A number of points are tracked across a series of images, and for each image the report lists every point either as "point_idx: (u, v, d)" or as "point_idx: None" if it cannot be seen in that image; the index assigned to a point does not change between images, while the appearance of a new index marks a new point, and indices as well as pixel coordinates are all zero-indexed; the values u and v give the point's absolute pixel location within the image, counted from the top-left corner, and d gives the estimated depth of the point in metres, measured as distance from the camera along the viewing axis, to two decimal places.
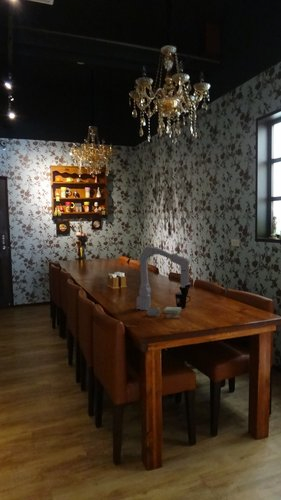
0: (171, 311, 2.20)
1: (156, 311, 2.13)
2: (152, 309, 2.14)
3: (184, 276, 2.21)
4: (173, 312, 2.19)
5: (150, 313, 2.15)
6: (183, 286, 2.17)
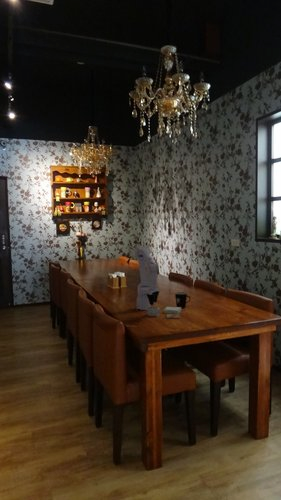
0: (171, 311, 2.20)
1: (156, 311, 2.13)
2: (152, 309, 2.14)
3: (148, 282, 2.14)
4: (173, 312, 2.19)
5: (150, 313, 2.15)
6: (150, 293, 2.08)
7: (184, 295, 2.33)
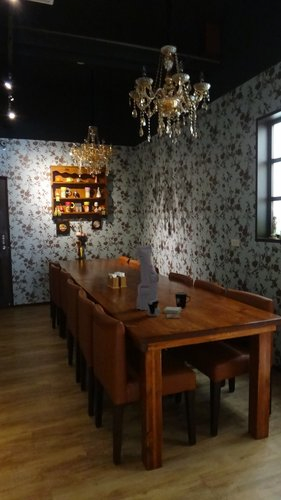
0: (171, 311, 2.20)
1: (156, 311, 2.13)
2: None
3: (149, 292, 2.14)
4: (173, 312, 2.19)
5: (150, 313, 2.15)
6: (150, 303, 2.09)
7: (184, 295, 2.33)
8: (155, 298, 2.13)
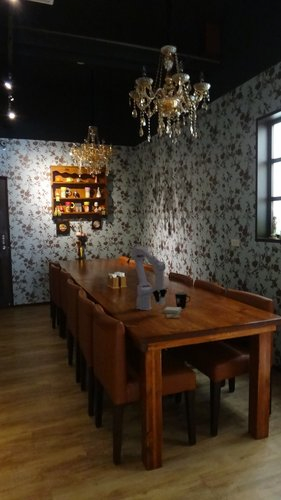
0: (171, 311, 2.20)
1: (160, 300, 2.15)
2: None
3: (156, 280, 2.16)
4: (173, 312, 2.19)
5: (155, 301, 2.18)
6: (151, 291, 2.13)
7: (184, 295, 2.33)
8: (159, 286, 2.15)
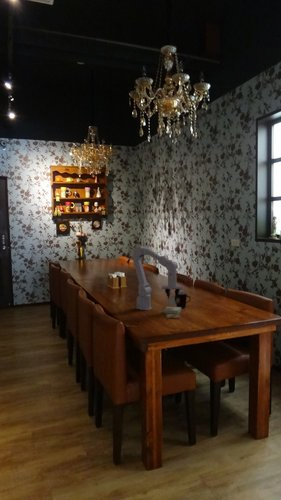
0: (171, 311, 2.20)
1: None
2: None
3: (171, 280, 2.20)
4: (173, 312, 2.19)
5: None
6: None
7: (184, 295, 2.33)
8: (168, 285, 2.22)
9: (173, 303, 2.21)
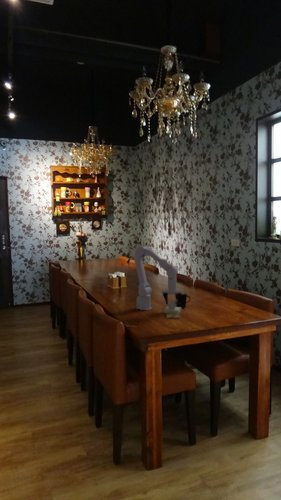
0: (171, 311, 2.20)
1: None
2: None
3: (171, 284, 2.21)
4: (173, 312, 2.19)
5: None
6: None
7: (184, 295, 2.33)
8: (168, 290, 2.22)
9: (173, 308, 2.21)
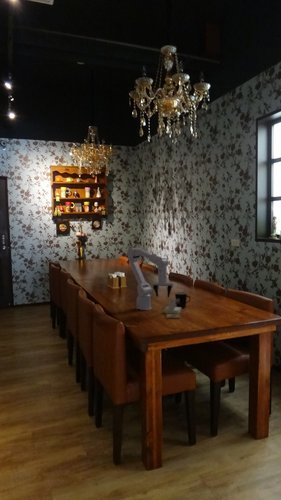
0: (171, 311, 2.20)
1: None
2: None
3: (160, 276, 2.20)
4: (173, 312, 2.19)
5: None
6: None
7: (184, 295, 2.33)
8: (159, 282, 2.21)
9: (173, 308, 2.21)
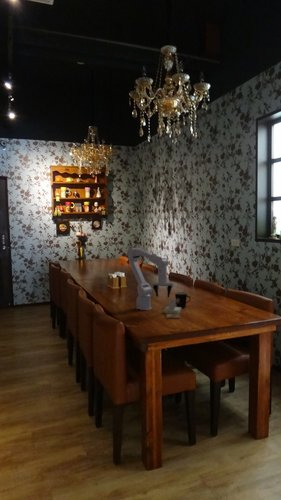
0: (171, 311, 2.20)
1: None
2: None
3: (160, 276, 2.20)
4: (173, 312, 2.19)
5: None
6: None
7: (184, 295, 2.33)
8: (159, 282, 2.21)
9: (173, 308, 2.21)
